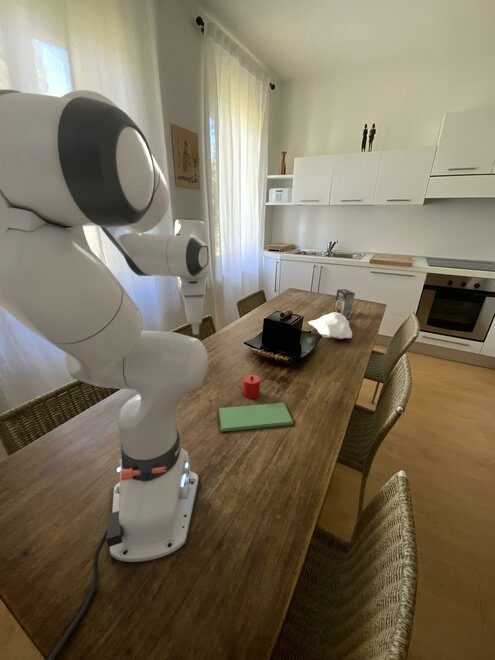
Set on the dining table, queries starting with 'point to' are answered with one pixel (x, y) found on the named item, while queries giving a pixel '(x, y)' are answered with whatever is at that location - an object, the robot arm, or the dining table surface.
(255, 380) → the pepper
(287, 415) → the towel
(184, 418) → the dining table surface
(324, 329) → the crumpled cloth
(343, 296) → the coffee box
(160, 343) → the robot arm
